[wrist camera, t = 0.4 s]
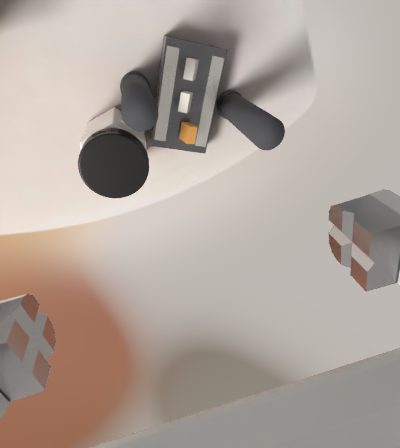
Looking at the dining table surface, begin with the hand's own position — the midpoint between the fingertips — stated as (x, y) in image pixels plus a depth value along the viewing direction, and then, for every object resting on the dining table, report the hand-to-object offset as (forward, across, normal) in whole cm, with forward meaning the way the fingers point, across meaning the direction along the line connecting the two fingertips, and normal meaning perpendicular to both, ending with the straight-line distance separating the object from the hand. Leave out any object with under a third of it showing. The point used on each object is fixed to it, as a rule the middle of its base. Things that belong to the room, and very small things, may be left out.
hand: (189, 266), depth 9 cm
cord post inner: (+43, +1, +2) cm, 43 cm away
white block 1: (+40, -7, +1) cm, 41 cm away
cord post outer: (+43, -12, +7) cm, 45 cm away
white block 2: (+40, -6, +4) cm, 41 cm away
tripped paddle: (+40, -4, +8) cm, 41 cm away
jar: (+43, +6, +8) cm, 44 cm away
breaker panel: (+43, -6, +4) cm, 44 cm away
